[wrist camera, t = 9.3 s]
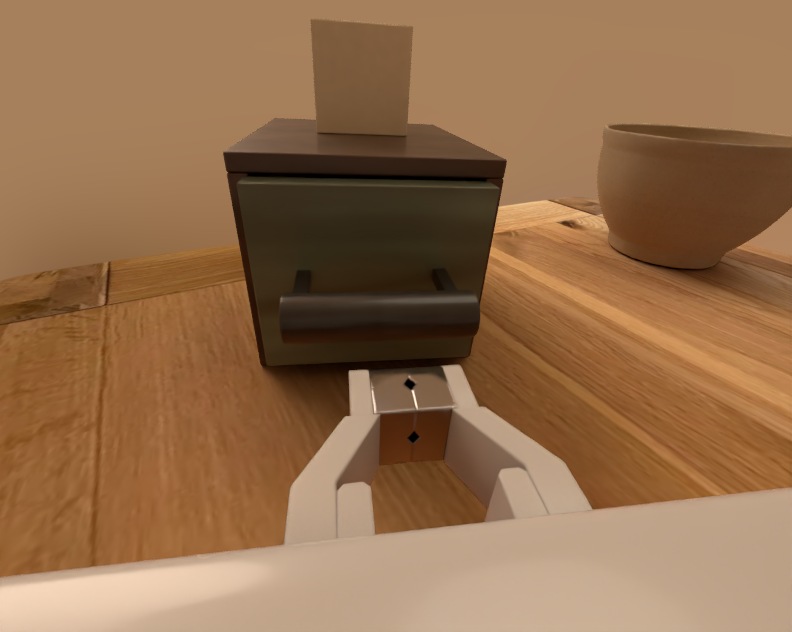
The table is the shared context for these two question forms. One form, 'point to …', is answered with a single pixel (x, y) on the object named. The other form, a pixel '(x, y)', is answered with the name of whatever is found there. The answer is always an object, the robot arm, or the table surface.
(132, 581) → the robot arm
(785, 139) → the planter bowl
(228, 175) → the cabinet
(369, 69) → the block
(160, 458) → the table surface
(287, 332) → the drawer
